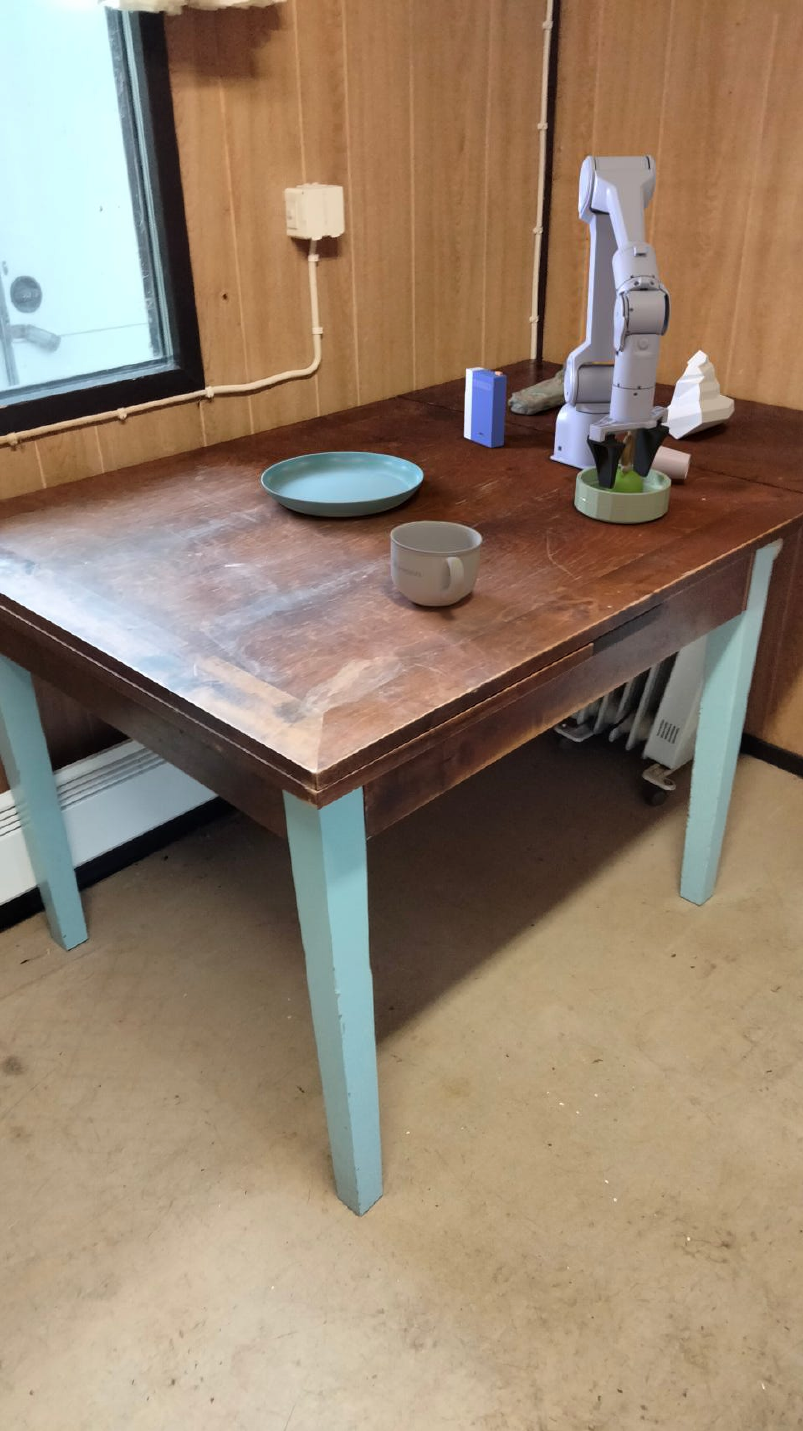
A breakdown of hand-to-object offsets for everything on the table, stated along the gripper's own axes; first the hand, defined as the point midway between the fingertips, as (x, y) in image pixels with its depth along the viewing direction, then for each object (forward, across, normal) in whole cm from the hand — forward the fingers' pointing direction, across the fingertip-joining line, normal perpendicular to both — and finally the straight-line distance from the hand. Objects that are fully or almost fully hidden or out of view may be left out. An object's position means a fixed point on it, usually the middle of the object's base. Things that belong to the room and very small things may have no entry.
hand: (623, 481), depth 148 cm
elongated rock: (+4, +41, +48) cm, 63 cm away
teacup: (+4, -41, -6) cm, 42 cm away
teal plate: (+4, -27, +31) cm, 41 cm away
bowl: (+4, 0, 0) cm, 4 cm away
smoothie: (+2, +16, 0) cm, 16 cm away
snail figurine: (+4, 0, 0) cm, 4 cm away
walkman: (+4, +8, +37) cm, 38 cm away
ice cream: (+4, +40, +17) cm, 44 cm away
